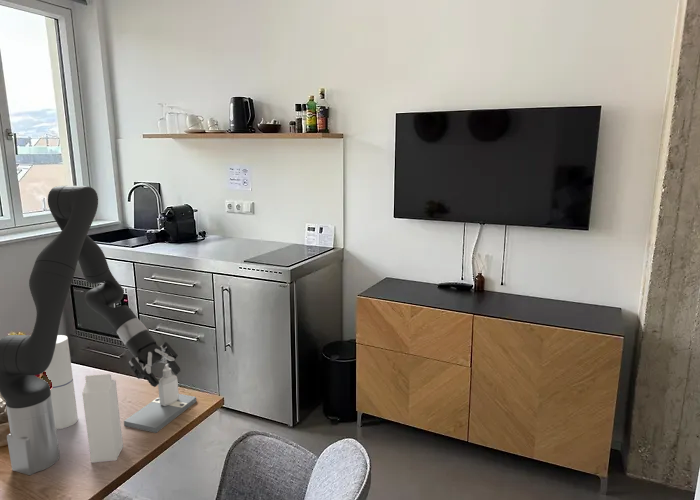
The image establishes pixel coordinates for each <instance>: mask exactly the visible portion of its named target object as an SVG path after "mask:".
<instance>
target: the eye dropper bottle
mask: <svg viewBox="0 0 700 500" xmlns="http://www.w3.org/2000/svg"><path fill="white" fill-rule="evenodd" d="M158 381H159V384H158V385H157V387H158V388H157V389H158V397H159V400H160V404H161V405H163V406H167V405H170V404H173V403H174V402H176V401H177V400H178V399H179V394H180V393H179V383H178V376H177V375H175V374H174V373H173V372H172V370H171V368H170V367H169V365H168V364H165V365H164V368H163V369H162V377H161V378H160V379H159V380H158Z"/></svg>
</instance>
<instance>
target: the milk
mask: <svg viewBox="0 0 700 500" xmlns="http://www.w3.org/2000/svg"><path fill="white" fill-rule="evenodd" d="M84 378H85V384H84V387H83V389H82V390H83V391H82V401H83V402H82V403H83V410H84V417H85V424H86V425H85V426H86V433H87V439H88V448H89V450H88V451H89V457H90V463H91V464H94V463H102V462H103V463H104V462H114V461H117V459H118V458H119V457H120V456H119V455H120V454H121V452H122V450H123V448H124V444H123V443H124V441H123V434H122V432H123V431H122V423H121V416H120V407H119V397H118V389H117V380H115V379H112V374H110V373H105V374H93V375H86V376H85V377H84Z"/></svg>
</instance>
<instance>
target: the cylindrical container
mask: <svg viewBox="0 0 700 500" xmlns="http://www.w3.org/2000/svg"><path fill="white" fill-rule="evenodd" d="M45 372H46V375H47V377H48V379H49V380H51V382H52V387H53V388H52V389H51V390H50V391H51V398H52V406H53V413H54V420H55V427H56V430H63V429H66V428H69V427H71V426H73V425H75V424H76V423H77V422H78V420H79V416H78V409H77V400H76V391H75V385H74V378H73V370H72V360H71V352H70V345H69V337H68V336H67V335H64V334H58V335H57V341H56V346H55V351H54V354H53V358H52V360H51V363H50V365H49V367H48V368H47V369H46V370H45Z"/></svg>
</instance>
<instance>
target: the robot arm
mask: <svg viewBox="0 0 700 500" xmlns="http://www.w3.org/2000/svg"><path fill="white" fill-rule="evenodd" d="M47 206H48V208H49V211H50V213H51V215H52V218H54V220H55V222H56V224H57V225H58V227H59V229H60V231H61V232H60V233H59V234H58V235H57V236H56V237H55V238H54V239H53V240H52V241H50V242H49V243H48V244H47V245H46V246H45V247H44V248H43V249H42V250H41V251H40V252H39V254H38V255H37V257H36V259H35V261H34V265H33V267H32V270H31V272H30V273H31V274H30V275H29V279H28V287H29V290H30V294H31V298H32V300H33V302H34V306H35V311H36V317H35V318H36V319H35V323H34V326H33V329H32V333H31V334H29V335H28V334H10V335H6V336H4V337H2V338H0V396H1V397H2V398H3V400H4V401H5V407H6V413H7V419H8V426H9V432H10V433H8V434H7V435H6V440H7V446H8V453H9V458H10V465H11V471H14V472H17V473H21V474H24V475H28V476H31V475H34V474H35V473H38V472H41V471H44V470H46V469H48V468H50V467H52V466H53V465H55V464H56V463H57V462H58V461H59V459H60V455H61V454H60V449H59V441H58V435H57V434H58V433H57V429H56V427H55V420H54V413H53V406H52V398H51V391H50V386H49V384H48V382H46V381H45V380H43V378H40V377H38V376H39V375H42V373H43V372H44V371H45V370H46V369H47V368H48V367H49V365H50V363H51V360H52V358H53V354H54V351H55V346H56V341H57V335H59V329H60V325H61V319H62V316H63V312H64V308H65V304H66V302H67V297H68V295H69V291H70V289H71V286H72V282H73V279H74V276H75V273H76V268H77V265H79V267H80V269H81V272H82V274H83V277H84V280H85V281H86V282H87V283H89V284H92V285H93V284H94V285H95V284H99V285H98V286H95V287H94V288H93V287H92V288H91V289H89V290H88V291H86V293H85V294H84V301H85V303H86V305H87V306H88V307H89V308H90V309H91V310H92V311H94V312H95V313H96V314H98V315H100V316H101V317H102V318H103V319H105V320H106V321H107V322H108V323H109V324H110V325H111V327H112V329H114V331H115V332H116V333H117V336H118V337H119V339H120V340H121V342H122V343H123V344H124V346H125V347H126V348H127V349H128V352H130V354H131V355H132V356H133V357H131V359H130V360H129V361H128V363H127V365H128V367H129V368H130V369H131V371H132V372H133V374H134V375H135V376H136V378H137V379H139V380H140V379H142V378H144V379H146V380H147V382H148V383H149V385H150V386H152V387H153V388H155V387H158V384H159V380H158V379H157V377H156V376H155V374H154V373H153V372H152V367H153V366H155V365H157V364H160V363H161V364H165V365H166V364H167V365H168V367H169V368H171V372H172V373H173V375H176V376H177V375H179V374H180V372H181V367H180V366H179V364H178V363H177V362H176V359H177V357H178V353H176V351H175V349H173V348H172V347H171V345H170V344H169V343H168V342H167V341H164V342H163V344H161V345H158V344H157V341H156V338H155V337H154V336H153V335H152V333H151V332H150V331H149V330H148V328H147V327H146V326H145V324H144V323H143V322H142V321H141V320H140V319H139V318H138V317H137V315H136V314H135V313H134V311H133V310H132V309H131V308H130V306H128V305H126V304H125V305H124V304H123V305H120V306H115V307H112V305H114V304H116V303H118V302H120V301H121V300H123V298H124V294H125V293H124V289H123V286H122V285H121V284H120V283H119V282H118V281H117V280H116V278H115V277H114V275H113V273H112V271H111V269H110V267H109V264H108V261H107V258H106V256H105V254H104V251H103V250H102V248H101V247H100V246H99V245H98V244H97V243H96V242H95V240H94V239H92V238H91V237H90V236H89V235H88V233H89V231H90V228H91V226H92V225H93V222H94V219H95V216H96V214H97V211H98V208H99V196H98V193H97V191H96V190H95V188H93V187H91V186H89V185H58V186H55V187H52V188H51V189H50V191H49V193H48V195H47ZM100 283H102V284H100ZM141 365H142V366H141ZM37 375H38V376H37Z"/></svg>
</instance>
